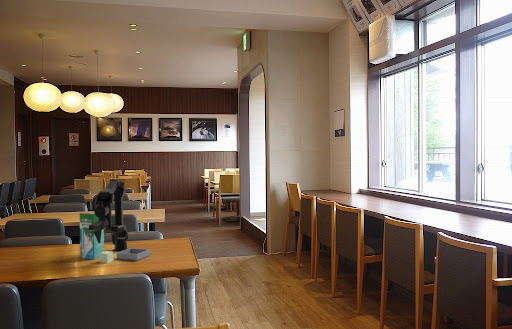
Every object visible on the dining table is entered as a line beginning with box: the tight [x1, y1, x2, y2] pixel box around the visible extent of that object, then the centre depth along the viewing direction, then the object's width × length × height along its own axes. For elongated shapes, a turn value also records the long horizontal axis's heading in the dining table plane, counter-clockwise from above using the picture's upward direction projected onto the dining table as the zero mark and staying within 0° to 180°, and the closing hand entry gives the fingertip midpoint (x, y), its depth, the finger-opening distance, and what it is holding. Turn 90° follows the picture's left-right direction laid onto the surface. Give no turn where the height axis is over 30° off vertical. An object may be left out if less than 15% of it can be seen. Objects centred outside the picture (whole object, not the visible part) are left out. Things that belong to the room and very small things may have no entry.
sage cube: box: [99, 250, 114, 264], centre depth 248 cm, size 5×5×5 cm
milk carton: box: [79, 211, 105, 260], centre depth 258 cm, size 9×9×25 cm
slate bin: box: [116, 247, 151, 262], centre depth 257 cm, size 13×13×4 cm
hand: (106, 243), depth 247 cm, fingers open, 9 cm apart
